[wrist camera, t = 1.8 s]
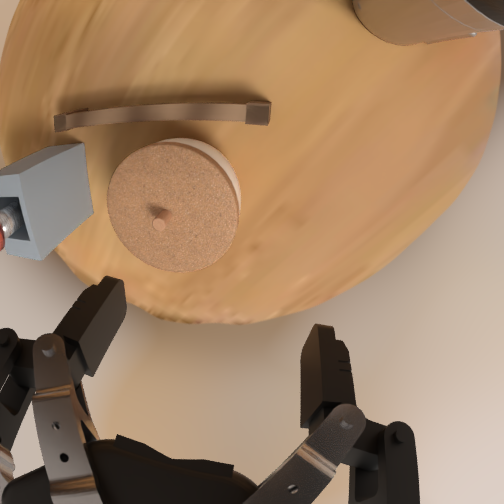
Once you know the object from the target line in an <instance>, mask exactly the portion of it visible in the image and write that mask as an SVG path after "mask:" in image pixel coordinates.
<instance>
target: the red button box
mask: <svg viewBox="0 0 504 504" xmlns="http://www.w3.org/2000/svg"><path fill="white" fill-rule="evenodd" d="M15 200H17V201H20V205H21V209H22V213H23V217H24V221H25V224H24V225H23V226H22V227H20V228H19V229H18V230H17V231H15V232H14V233H13V234H12V235H10V236H9V237H8V238H7V239H6V240H5V249H6V252H7V254H9V255H15V256H19V257H24V258H29V259H34V260H40V261H42V260H43V259H44V258H45V257H46V256H47V255H48V254H49V253H50V252H51V251H52V250H53V249H54V248H55V247H56V246H57V245H58V244H60V243H61V242H62V241H63V240H64V239H65V238H66V237H67V236H68V235H69V234H70V233H72V232H73V231H74V230H75V229H76V228H77V227H78V226H79V225H81V224H82V223H83V222H84V221H85V220H86V219H87V218H89V217H90V216H91V215H92V214H93V213H94V212H93V206H92V200H91V194H90V188H89V181H88V173H87V165H86V156H85V146H84V143H76V144H67V145H58V146H50V147H46V148H44V149H42V150H40V151H37V152H35V153H33V154H31V155H29V156H27V157H24V158H22V159H20V160H18V161H16V162H14V163H12V164H10V165H8V166H6V167H4V168H3V169H1V170H0V210H2V209H3V208H5V207H6V206H8V205H9V204H11V203H12V202H13V201H15Z"/></svg>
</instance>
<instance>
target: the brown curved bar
mask: <svg viewBox="0 0 504 504" xmlns="http://www.w3.org/2000/svg"><path fill="white" fill-rule="evenodd" d="M270 112H271V102H263V101H250V102H247V104H239V103H164V104H147V105H134V106H123V107H114V108H106V109H98V110H91V111H88V108H85V109H79V110H74V111H70V112H66V113H63V114H59V115H56V116H54V126H55V132H61V131H67V130H70V129H73V128H77V127H84V126H93V125H102V124H112V123H125V122H140V121H164V120H214V121H239V122H245V124H253V125H266V126H268V124H269V121H270Z"/></svg>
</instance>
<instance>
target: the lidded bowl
mask: <svg viewBox="0 0 504 504" xmlns="http://www.w3.org/2000/svg"><path fill="white" fill-rule="evenodd" d="M107 206H108V213H109V217H110V221H111V224H112V226H113V228H114V230H115V232H116V234H117V236H118V238H119V239H120V240H121V242H122V243H123V244H124V246H125V247H126V248H127V249H128V250H129V251H130V252H131V253H132V254H133V255H135V256H136V257H137V258H139V259H140V260H142V261H143V262H145V263H146V264H148V265H151V266H153V267H155V268H158V269H161V270H164V271H170V272H182V273H184V272H192V271H197V270H200V269H203V268H205V267H208V266H210V265H212V264H213V263H215V262H216V261H218V260H219V259H220V258H221V257H222V256H223V255H224V254H225V253H226V251H227V250H228V249H229V247H230V246H231V244H232V242H233V239H234V237H235V234H236V231H237V227H238V222H239V215H240V208H241V191H240V186H239V181H238V178H237V175H236V173H235V171H234V169H233V167H232V165H231V164H230V162H229V161H228V160H227V159H226V157H225V156H224V155H223V154H222V153H221V152H219V151H218V150H217V149H216V148H214V147H212V146H211V145H209V144H207V143H204V142H202V141H199V140H194V139H189V138H173V139H166V140H162V141H159V142H156V143H153V144H150V145H147V146H144V147H142V148H140V149H138V150H136V151H134V152H133V153H131V154H130V155H129V156H127V157H126V158H125V159H124V160H123V161H122V162H121V163H120V164H119V165H118V167H117V168H116V170H115V172H114V173H113V175H112V178H111V181H110V183H109V188H108V194H107Z"/></svg>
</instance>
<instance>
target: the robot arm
mask: <svg viewBox="0 0 504 504" xmlns="http://www.w3.org/2000/svg"><path fill="white" fill-rule="evenodd" d="M352 2H353V7H354V10H355V13H356V14H357V16H358V18H359V20H360V21H361V22H362V23H363V25H364V26H365V27H366V28H367V29H368V30H369V31H370V32H371V33H372V34H374V35H375V36H377V37H378V38H380V39H382V40H384V41H386V42H388V43H392V44H395V45H403V46H406V45H414V44H418V43H422V42H425V43H427V44H431V43H436V42H442V41H448V40H454V39H461V38H468V37H474V36H476V34H477V33H478V32H486V31H494V30H504V0H352ZM126 309H127V305H126V297H125V289H124V282H123V280H121V279H117V278H113V277H110V276H105V277H104V278H103V279H102V281H101V282H100V283H99V284H98V286H97V285H94V284H93V285H92V286H90V287H88V288H87V289H85V290H84V291H83V292H82V294H81V295H80V296H79V297H78V299H77V301H75V303H74V304H73V306H72V308H70V309H69V311H68V312H67V314H66V315H65V316H64V318H63V319H62V321H61V322H60V323H59V325H58V326H57V328H56V329H55V331H54V332H53V333H47V334H44V335H41V336H40V337H39V338H37V340H28V339H20V338H18V336H17V334H16V332H15V331H14V330H13V329H10V328H3V329H0V390H1V388H2V386H3V384H4V383H5V384H4V386H3V388H2V390H1V392H0V504H311V503H312V502H313V501H314V500H315V499H316V498H317V496H318V495H319V494H320V493H321V492H322V491H323V489H324V488H325V487H326V486H327V485H328V483H329V482H330V481H331V480H332V478H333V477H334V475H335V473H336V471H335V470H336V468H337V467H338V465H339V464H340V463H343V464H346V465H349V466H350V477H349V501H348V504H420V495H419V478H418V465H417V455H416V446H415V438H414V433H413V431H412V429H411V428H410V427H409V426H408V425H407V424H406V423H404V422H400V421H396V422H393V423H390V424H389V425H388V426H385V425H382V424H379V423H376V422H373V421H370V420H368V419H366V418H365V415H364V414H363V412H362V411H361V410H360V409H359V408H358V407H357V406H356V400H355V392H354V384H353V377H352V373H351V364H350V357H349V351H348V349H347V347H346V346H345V344H344V342H343V341H341V340H336V339H335V331H334V328H333V327H332V326H326V325H321V324H315V325H314V326H313V328H312V330H311V332H310V334H309V336H308V338H307V340H306V342H305V344H304V346H303V349H302V353H301V360H300V363H301V417H300V418H301V419H300V421H301V422H300V423H301V424H300V427H301V428H309V436H308V437H307V438H306V439H305V440H304V441H303V443H301V444H300V446H299V447H298V448H297V449H296V450H295V451H294V452H293V453H292V454H291V455H290V456H289V457H288V458H287V459H286V460H285V461H284V462H283V463H282V464H281V465H280V466H279V467H278V468H277V469H276V470H275V471H274V472H272V474H270V475H269V476H268V477H267V478H266V479H265V480H264V481H263V482H262V483H260V484H259V485H258V486H257V485H256V484H255V483H254V482H253V481H251V480H250V479H249V478H247V477H246V476H244V475H242V474H240V473H238V472H236V471H234V470H233V468H234V465H231V464H225V463H220V462H214V461H209V460H204V459H203V460H202V459H201V460H187V459H171V458H169V457H167V456H165V455H163V454H162V453H160V452H158V451H156V450H154V449H153V448H151V447H149V446H147V445H146V444H144V443H141V442H138V441H135V440H132V439H129V438H126V437H124V436H121V435H118V434H117V436H116V439H115V440H114V439H105V440H100V438H99V436H98V433H97V430H96V428H95V426H94V424H93V422H92V418H91V415H90V412H89V408H88V405H87V401H86V397H85V393H84V389H83V385H82V381H81V380H82V377H83V376H84V374H86V375H89V376H91V377H93V376H94V374H95V372H96V370H97V368H98V366H99V364H100V362H101V360H102V359H103V357H104V355H105V353H106V351H107V349H108V347H109V346H110V343H111V342H112V340H113V338H114V336H115V334H116V333H117V331H118V329H119V327H120V325H121V323H122V322H123V320H124V318H125V315H126ZM8 375H9V377H8ZM7 377H8V378H7ZM6 379H7V380H6ZM5 381H6V382H5ZM35 392H36V394H35ZM31 400H32V405H33V411H34V418H35V423H36V429H37V434H38V439H39V444H40V448H41V452H42V456H43V460H44V464H45V465H44V466H42V467H40V468H38V469H35V470H33V471H31V472H29V473H27V474H24V475H22V476H20V477H18V478H15V479H14V477H13V471H14V470H15V465H14V462H13V457H12V454H11V452H10V451H11V448H12V446H13V443H14V440H15V438H16V435H17V433H18V430H19V428H20V425H21V423H22V420H23V418H24V416H25V414H26V411H27V409H28V407H29V405H30V403H31Z"/></svg>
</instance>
